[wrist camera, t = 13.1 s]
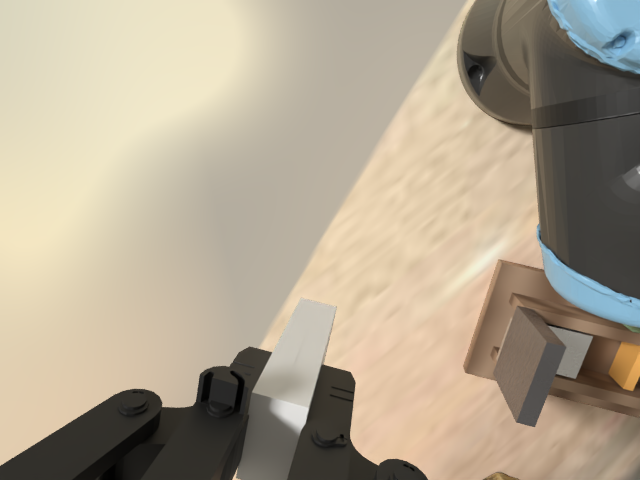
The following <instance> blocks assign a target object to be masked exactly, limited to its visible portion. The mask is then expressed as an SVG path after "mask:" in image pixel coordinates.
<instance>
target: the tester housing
mask: <svg viewBox="0 0 640 480" xmlns="http://www.w3.org/2000/svg"><path fill="white" fill-rule="evenodd" d="M517 306H522V307H526V308H530V309H533V310H534V311H535V312H536V313H537V314H538V315H539V317H540V318H541V319H542V320H543V321H544V322H545V323H548V324H552V325H556V326H561V327H565V328H569V329H573V330H577V331H581V332H585V333H589V334H591V335H592V336H593V338H592V341H591V343H590V345H589V348H588V350H587V353H586V355H585V357H584V360H583V362H582V365H581V367H580V370H579V372H578V374H577V377H576V379H575V378H571V377H567V376H563V375H559V374H556V375H555V378H554V380H553V383H552V385H551V388H550V390H549V393H548V394H549V395H553V396H557V397H561V398H565V399H569V400H573V401H577V402H580V403H584V404H588V405H592V406H596V407H600V408H604V409H608V410H611V411H615V412H619V413H623V414H627V415H631V416H635V417H639V418H640V377H639V379H638V381H637V383H636V385H635V388H634V390H633V391H630V390H626V389H623V388H622V387H621V386H620V385H619V384H618V383H617V382H616V381H615V380H614V379H613V378H612V377H611V376H610V375H609V374H608V372H609V370H610V368H611V365H612V363H613V361H614V358H615V356H616V354H617V352H618V349H619V347H620V345H621V342H627V343H631V344H635V345H639V346H640V328H638V327H633V326H629V325H625V324H621V323H617V322H614V321H610V320H607V319H604V318H602V317H599V316H596V315H594V314H591V313H589V312H587V311H584V310H582V309H580V308H579V307H577V306H575V305H573V304H572V303H570V302H568V301H567V300H566V299H564V298H563V297H562V296H561V295H560V294H558V293H557V292H556V291H555V290H554V288H553V287H552V286H551V284H550V282H549V280H548V278H547V277H546V274H545V271H544V270H542V269H538V268H534V267H529V266H525V265H521V264H516V263H512V262H508V261H503V260H498V263H497V266H496V269H495V272H494V275H493V278H492V281H491V284H490V287H489V290H488V293H487V296H486V299H485V302H484V305H483V308H482V311H481V314H480V317H479V320H478V323H477V326H476V329H475V332H474V335H473V338H472V341H471V344H470V347H469V350H468V353H467V356H466V359H465V362H464V365H463V367H464V370H465V373H468V374H472V375H476V376H479V377H483V378H487V379H491V380H495V381H496V379H495V377H494V374H493V372H494V369H495V366H496V363H497V360H496V357H497V355H498V352H499V349H500V346H501V343H502V340H503V338H504V335H505V332H506V329H507V326H508V323H509V321H510V318H511V317H513V315H514V312H515V310H516V307H517Z"/></svg>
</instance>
